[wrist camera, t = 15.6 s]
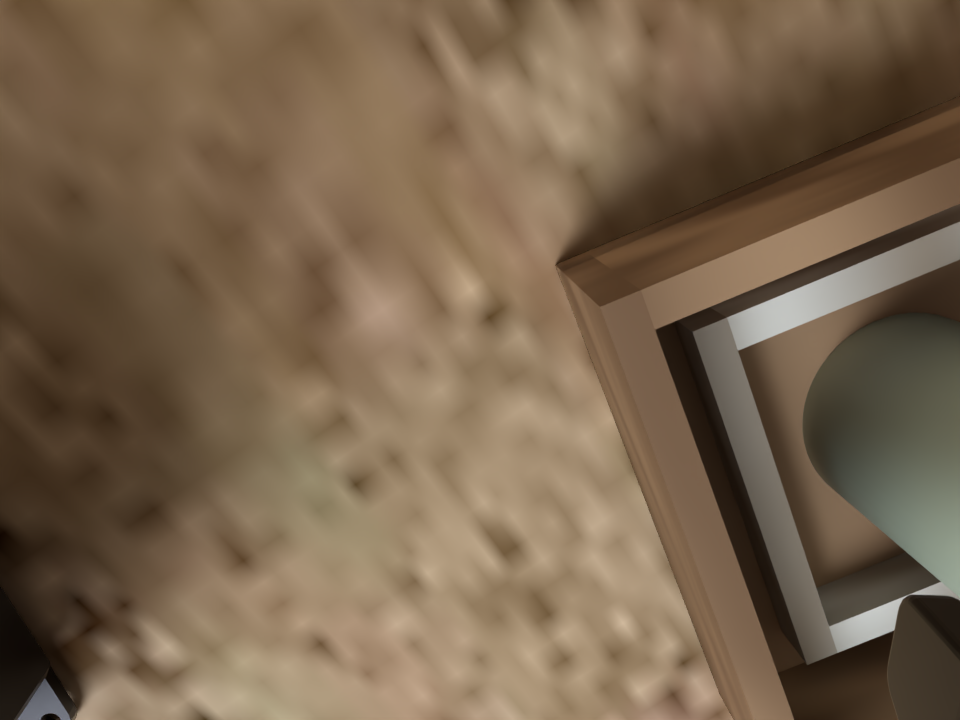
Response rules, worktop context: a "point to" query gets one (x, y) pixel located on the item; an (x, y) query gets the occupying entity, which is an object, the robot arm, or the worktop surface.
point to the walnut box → (774, 404)
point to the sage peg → (895, 433)
